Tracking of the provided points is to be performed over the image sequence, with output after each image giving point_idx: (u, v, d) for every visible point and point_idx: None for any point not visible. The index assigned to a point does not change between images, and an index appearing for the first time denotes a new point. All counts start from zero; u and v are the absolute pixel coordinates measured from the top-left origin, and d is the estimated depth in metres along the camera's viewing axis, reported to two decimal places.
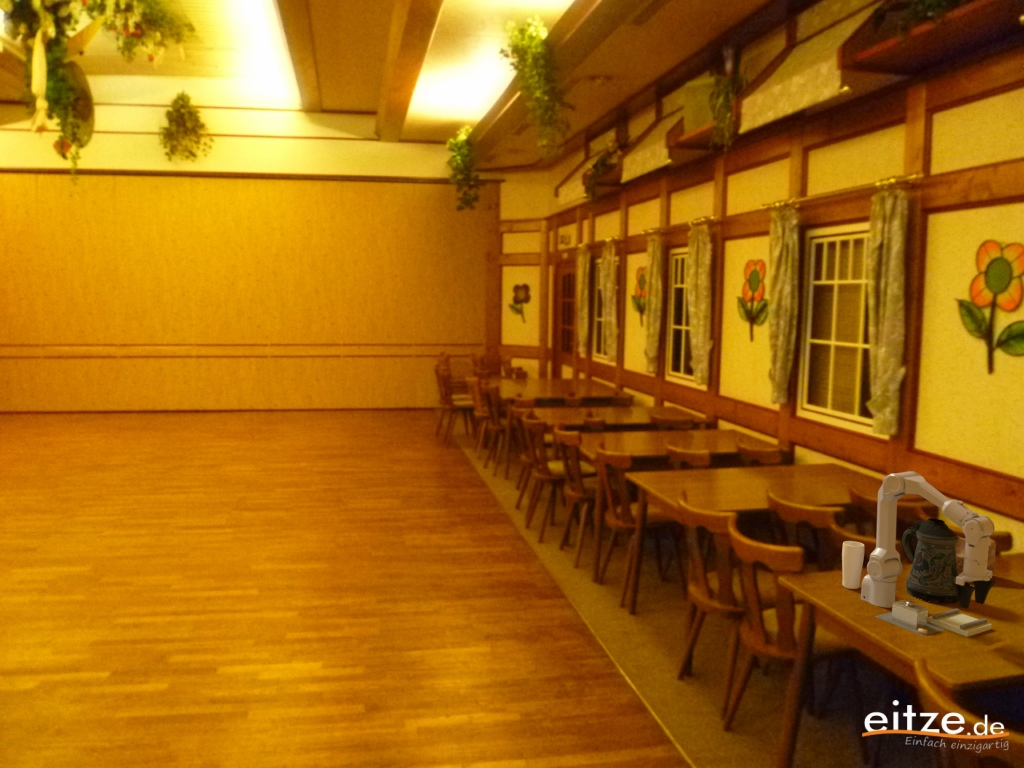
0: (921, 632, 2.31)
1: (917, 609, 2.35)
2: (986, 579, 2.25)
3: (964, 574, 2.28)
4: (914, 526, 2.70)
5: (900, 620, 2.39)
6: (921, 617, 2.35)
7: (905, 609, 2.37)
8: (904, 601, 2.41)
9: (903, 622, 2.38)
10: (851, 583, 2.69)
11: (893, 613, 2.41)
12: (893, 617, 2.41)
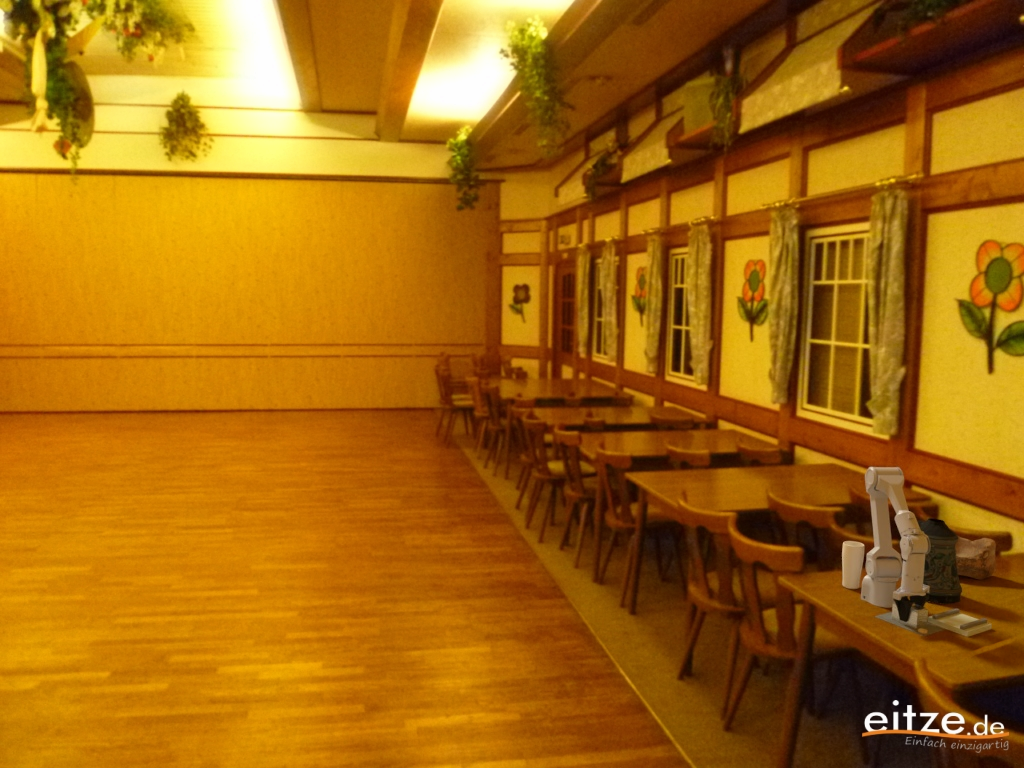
0: (921, 632, 2.31)
1: (917, 609, 2.35)
2: (922, 594, 2.34)
3: (901, 589, 2.38)
4: None
5: (900, 620, 2.39)
6: (921, 617, 2.35)
7: None
8: None
9: (903, 622, 2.38)
10: (851, 583, 2.69)
11: (893, 613, 2.41)
12: (893, 617, 2.41)
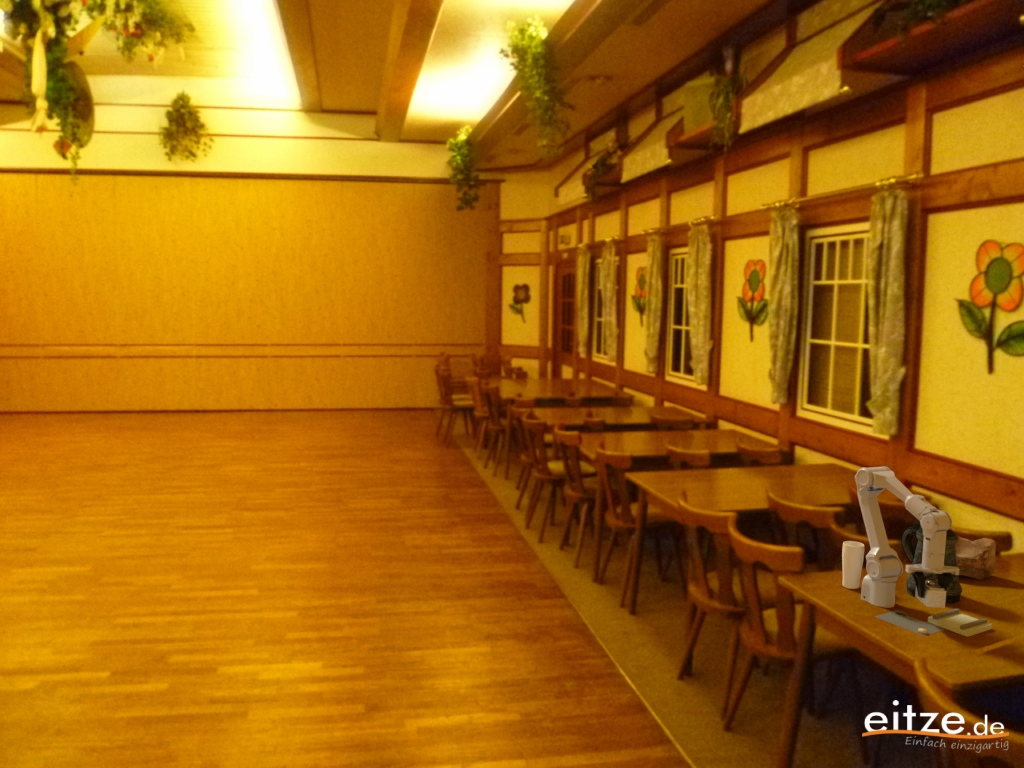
0: (921, 632, 2.31)
1: (931, 587, 2.34)
2: (935, 571, 2.33)
3: (921, 565, 2.38)
4: (914, 526, 2.70)
5: (919, 597, 2.39)
6: (936, 596, 2.34)
7: None
8: None
9: (921, 599, 2.38)
10: (851, 583, 2.69)
11: (916, 590, 2.41)
12: (916, 594, 2.41)
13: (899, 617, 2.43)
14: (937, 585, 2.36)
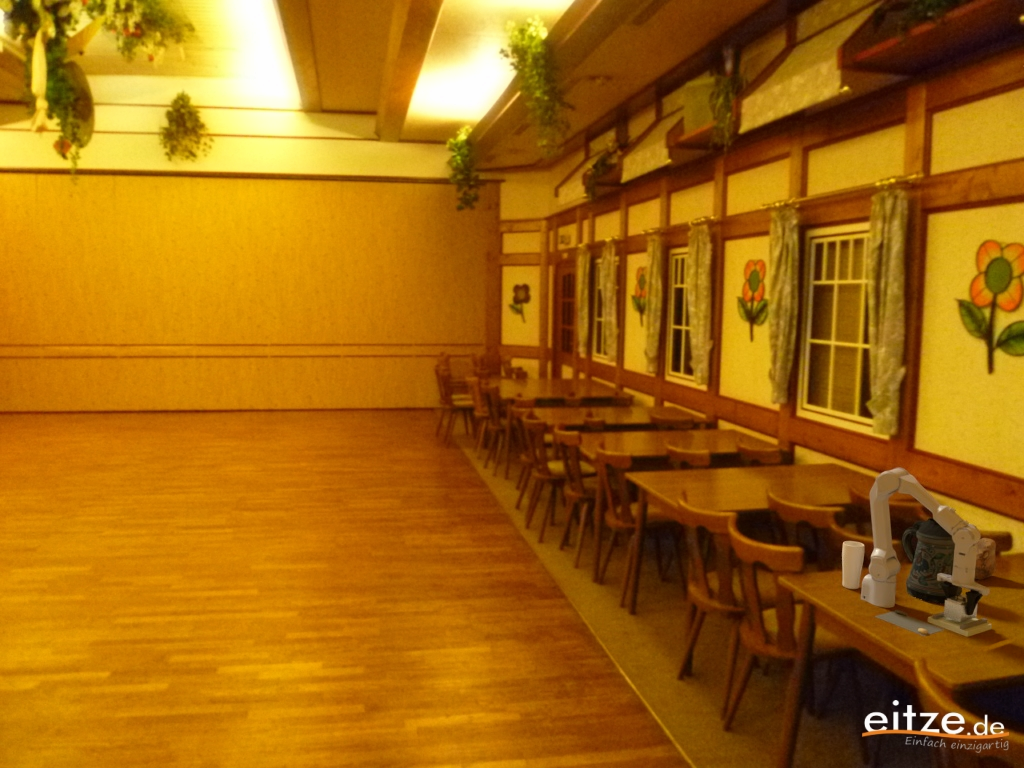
0: (921, 632, 2.31)
1: (951, 599, 2.37)
2: (952, 582, 2.35)
3: None
4: (914, 526, 2.70)
5: None
6: (952, 608, 2.36)
7: None
8: None
9: None
10: (851, 583, 2.69)
11: None
12: None
13: (899, 617, 2.43)
14: (964, 600, 2.36)
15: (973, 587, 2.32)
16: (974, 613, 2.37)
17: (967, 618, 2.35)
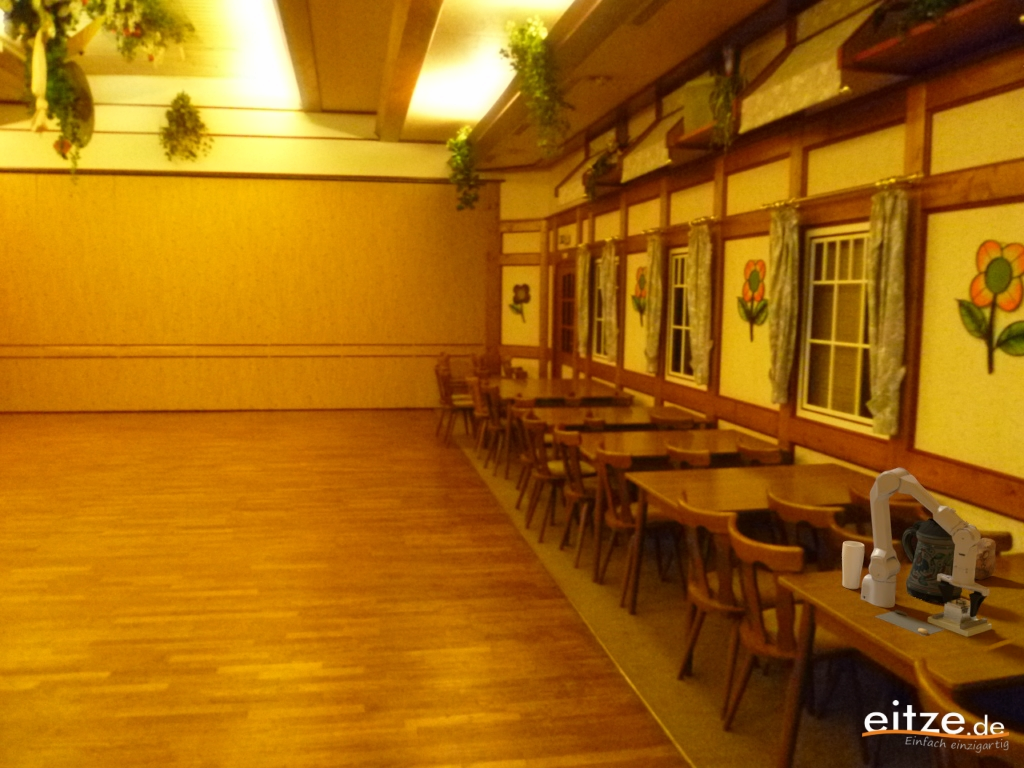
0: (921, 632, 2.31)
1: (950, 602, 2.37)
2: (952, 583, 2.36)
3: None
4: (914, 526, 2.70)
5: None
6: (951, 612, 2.36)
7: None
8: (968, 601, 2.38)
9: None
10: (851, 583, 2.69)
11: None
12: None
13: (899, 617, 2.43)
14: (963, 604, 2.36)
15: (973, 588, 2.32)
16: (974, 617, 2.37)
17: (967, 622, 2.36)
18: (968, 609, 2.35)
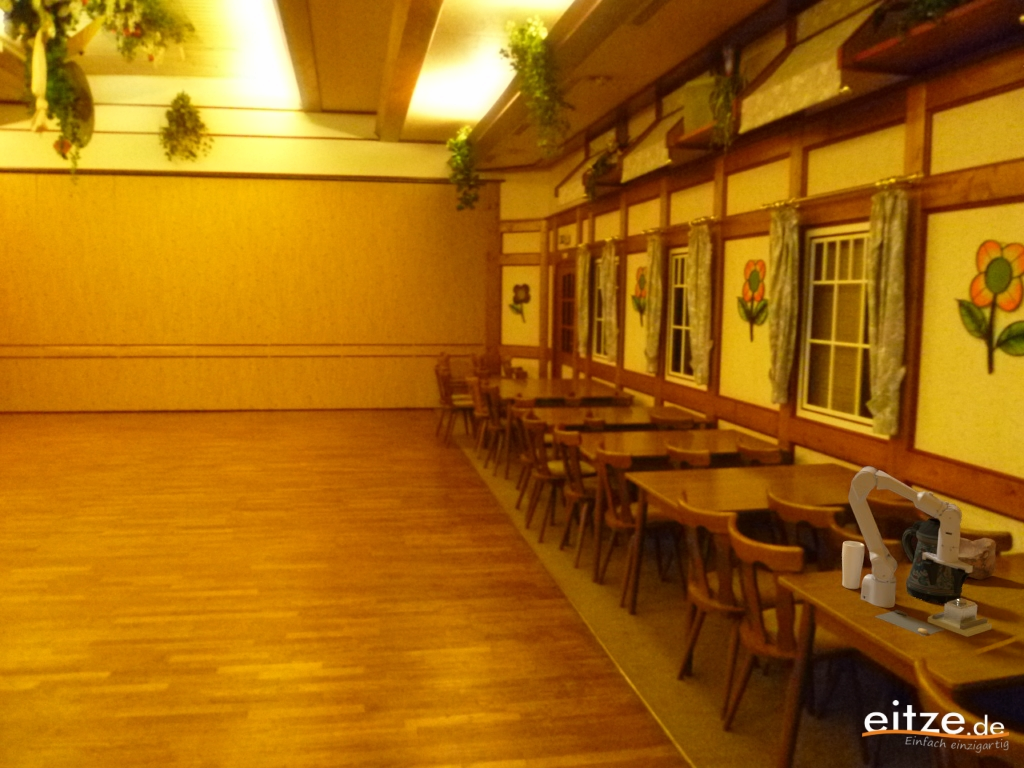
0: (921, 632, 2.31)
1: (950, 602, 2.37)
2: (937, 561, 2.43)
3: None
4: (914, 526, 2.70)
5: None
6: (951, 612, 2.36)
7: None
8: (968, 601, 2.38)
9: None
10: (851, 583, 2.69)
11: None
12: None
13: (899, 617, 2.43)
14: (963, 604, 2.36)
15: (957, 565, 2.39)
16: (974, 617, 2.37)
17: (967, 622, 2.36)
18: (968, 609, 2.35)
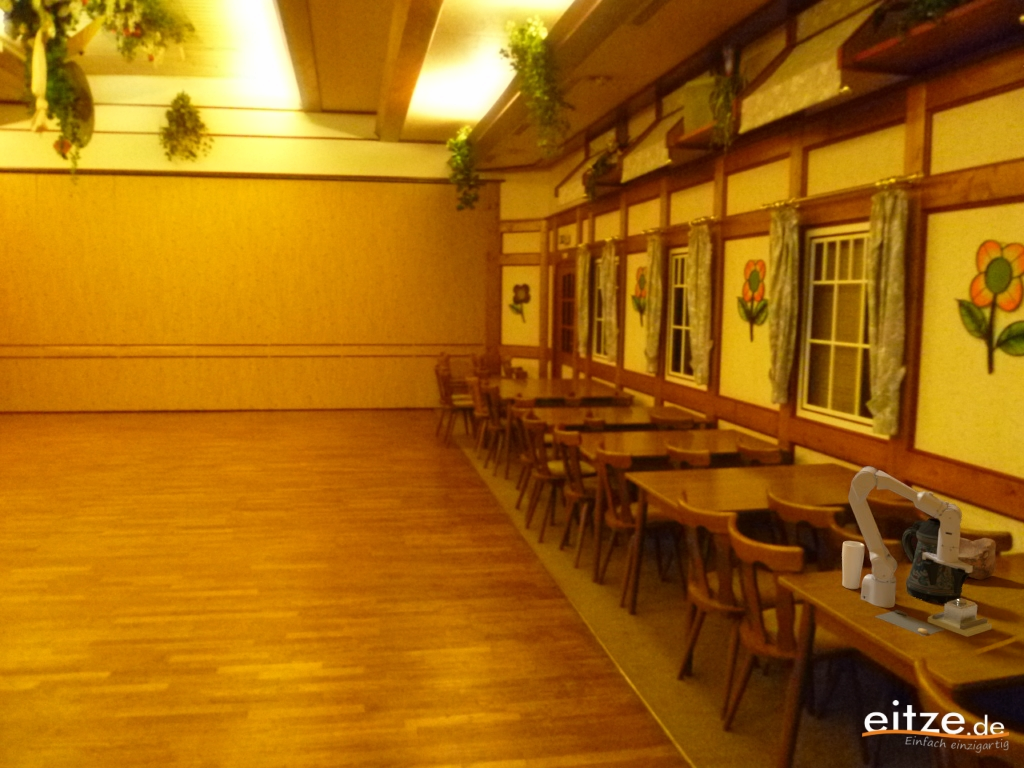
0: (921, 632, 2.31)
1: (950, 602, 2.37)
2: (937, 561, 2.43)
3: None
4: (914, 526, 2.70)
5: None
6: (951, 612, 2.36)
7: None
8: (968, 601, 2.38)
9: None
10: (851, 583, 2.69)
11: None
12: None
13: (899, 617, 2.43)
14: (963, 604, 2.36)
15: (957, 565, 2.39)
16: (974, 617, 2.37)
17: (967, 622, 2.36)
18: (968, 609, 2.35)
